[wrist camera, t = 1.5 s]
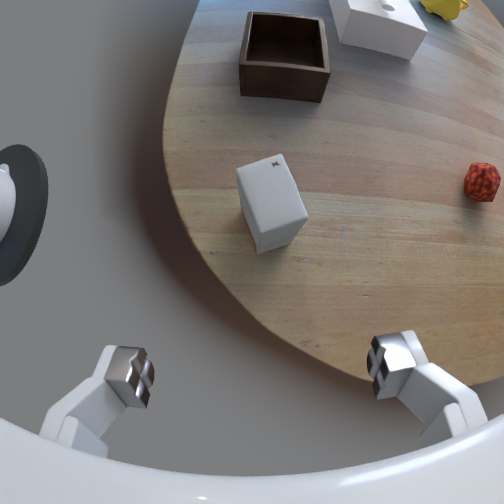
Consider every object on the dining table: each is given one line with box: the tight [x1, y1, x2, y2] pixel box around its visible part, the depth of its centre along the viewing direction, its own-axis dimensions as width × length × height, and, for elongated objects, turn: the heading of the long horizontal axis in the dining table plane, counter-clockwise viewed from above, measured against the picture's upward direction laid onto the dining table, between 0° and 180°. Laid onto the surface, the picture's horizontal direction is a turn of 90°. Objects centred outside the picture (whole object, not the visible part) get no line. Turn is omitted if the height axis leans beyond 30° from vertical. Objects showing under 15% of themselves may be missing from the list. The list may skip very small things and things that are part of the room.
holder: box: [239, 12, 331, 103], centre depth 35 cm, size 12×14×7 cm
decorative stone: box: [464, 163, 501, 202], centre depth 33 cm, size 6×7×8 cm
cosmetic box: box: [236, 154, 308, 254], centre depth 29 cm, size 6×4×12 cm
